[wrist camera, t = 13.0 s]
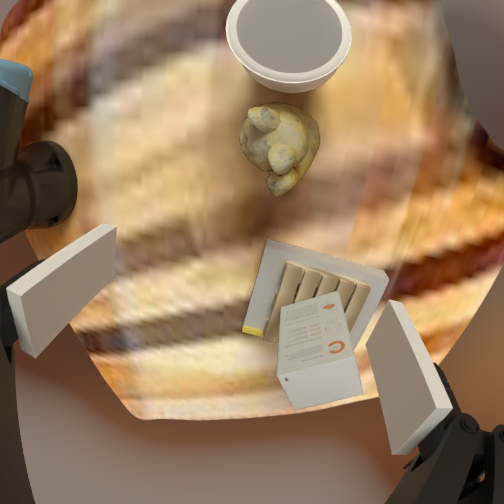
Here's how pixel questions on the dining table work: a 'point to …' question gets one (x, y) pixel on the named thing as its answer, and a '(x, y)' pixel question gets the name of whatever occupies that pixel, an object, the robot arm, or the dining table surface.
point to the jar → (289, 41)
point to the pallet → (308, 284)
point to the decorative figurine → (280, 143)
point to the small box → (316, 353)
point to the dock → (271, 282)
